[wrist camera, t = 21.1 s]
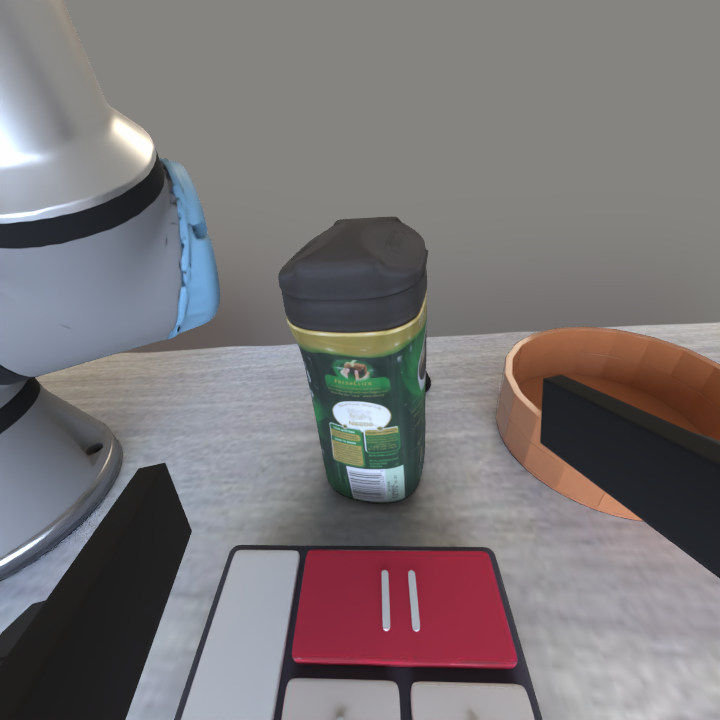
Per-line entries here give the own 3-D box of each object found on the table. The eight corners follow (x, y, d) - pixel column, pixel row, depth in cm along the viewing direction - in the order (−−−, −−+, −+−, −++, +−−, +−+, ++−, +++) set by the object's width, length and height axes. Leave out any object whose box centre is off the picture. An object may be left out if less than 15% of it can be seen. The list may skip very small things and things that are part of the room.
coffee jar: (344, 412, 33) (311, 211, 22) (426, 418, 31) (432, 203, 21) (315, 502, 25) (242, 260, 15) (421, 517, 24) (426, 255, 13)
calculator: (616, 938, 9) (98, 906, 10) (567, 916, 12) (155, 892, 12) (496, 539, 18) (227, 537, 19) (482, 574, 21) (245, 571, 21)
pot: (489, 484, 25) (500, 434, 22) (500, 363, 37) (508, 319, 34) (780, 557, 19) (851, 504, 16) (682, 387, 31) (712, 337, 28)
